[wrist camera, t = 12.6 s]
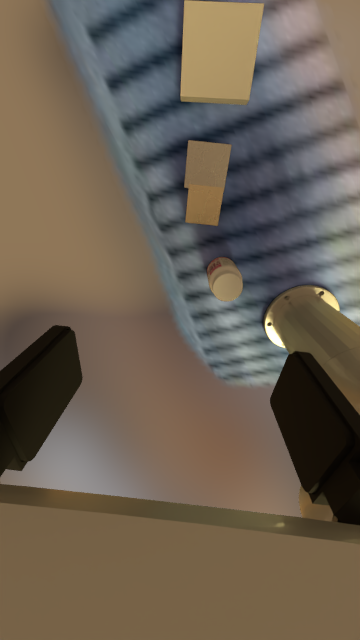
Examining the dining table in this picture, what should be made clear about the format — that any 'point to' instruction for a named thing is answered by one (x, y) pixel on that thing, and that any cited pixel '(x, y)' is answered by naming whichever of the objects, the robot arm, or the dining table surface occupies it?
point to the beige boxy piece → (205, 180)
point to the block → (219, 51)
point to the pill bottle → (224, 279)
